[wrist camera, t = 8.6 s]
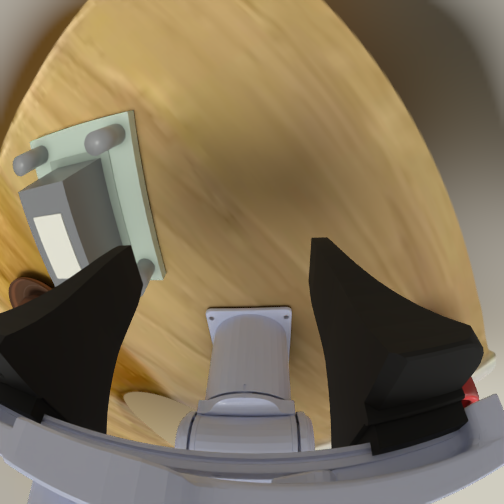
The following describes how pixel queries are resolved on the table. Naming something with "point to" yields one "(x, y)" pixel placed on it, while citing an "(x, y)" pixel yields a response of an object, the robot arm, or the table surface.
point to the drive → (71, 218)
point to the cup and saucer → (26, 290)
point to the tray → (107, 179)
